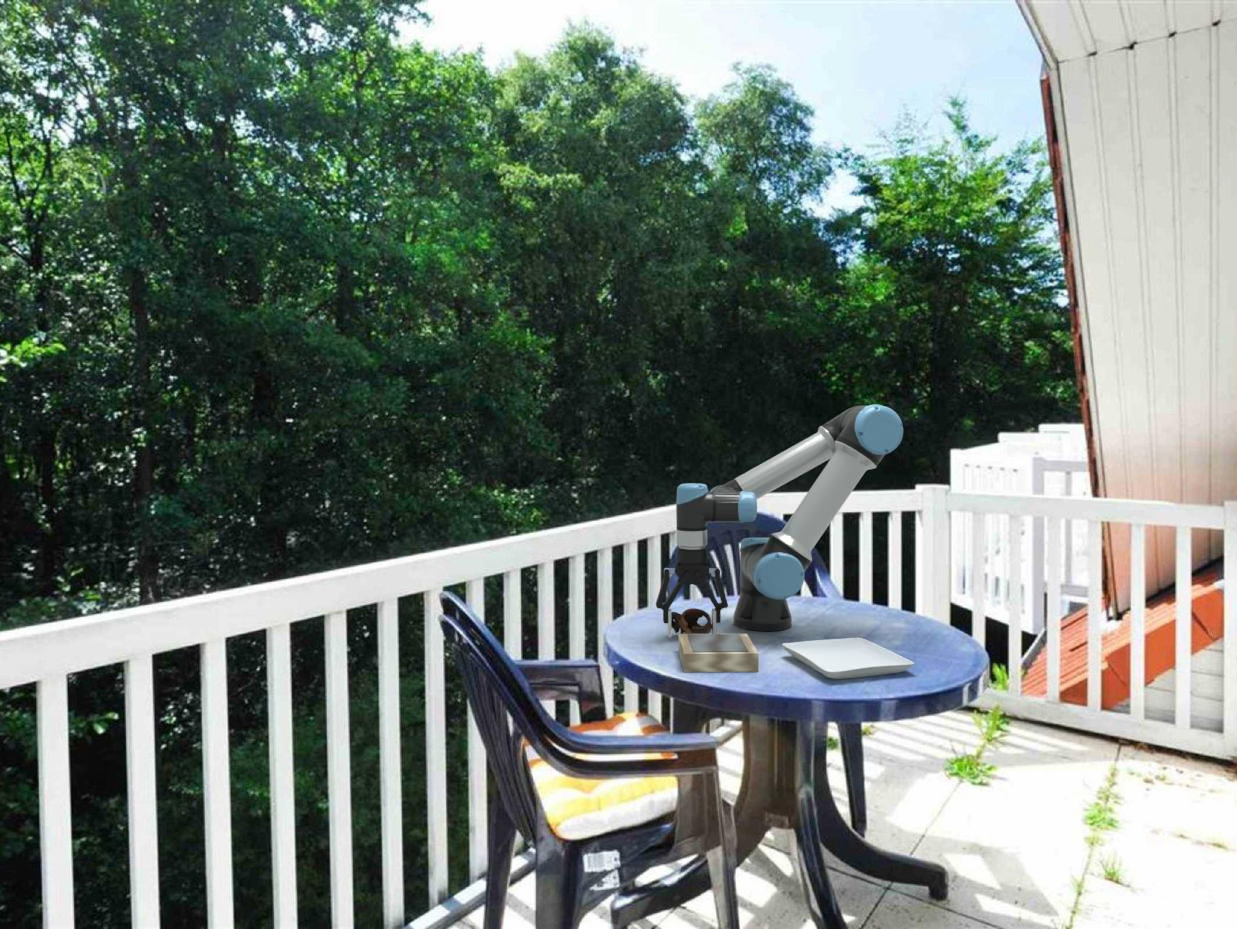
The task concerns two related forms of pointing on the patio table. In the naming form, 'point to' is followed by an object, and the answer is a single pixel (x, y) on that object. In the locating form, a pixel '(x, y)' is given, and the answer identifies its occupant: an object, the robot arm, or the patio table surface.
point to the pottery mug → (690, 622)
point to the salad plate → (847, 657)
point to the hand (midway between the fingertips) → (691, 635)
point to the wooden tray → (717, 653)
